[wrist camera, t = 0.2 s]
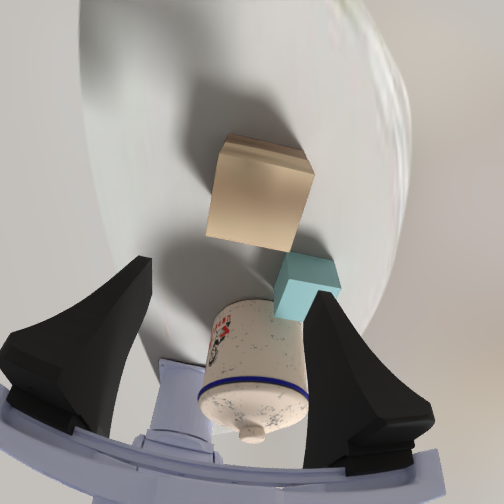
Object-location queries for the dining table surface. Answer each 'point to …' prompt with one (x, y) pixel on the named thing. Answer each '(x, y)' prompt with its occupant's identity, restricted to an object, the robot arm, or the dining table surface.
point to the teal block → (302, 284)
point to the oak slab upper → (258, 196)
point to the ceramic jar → (254, 371)
